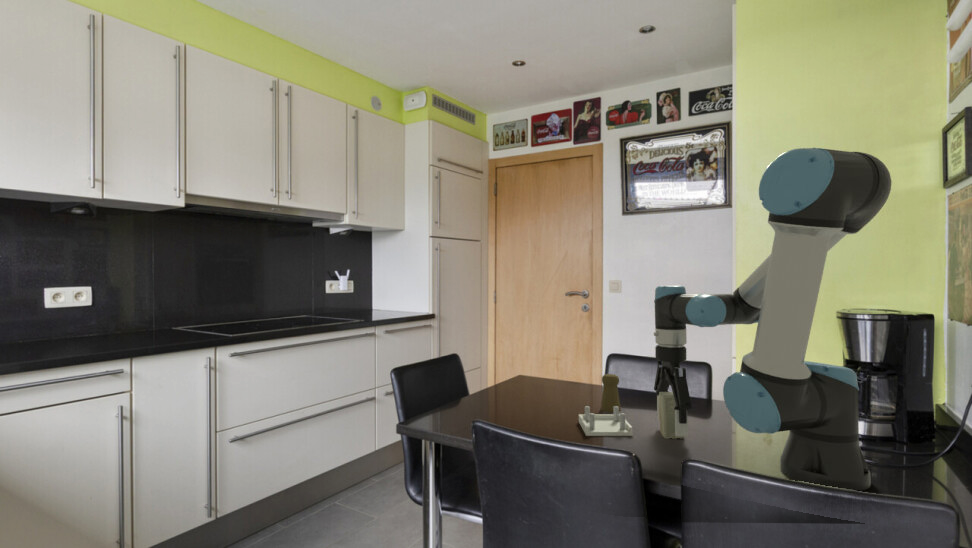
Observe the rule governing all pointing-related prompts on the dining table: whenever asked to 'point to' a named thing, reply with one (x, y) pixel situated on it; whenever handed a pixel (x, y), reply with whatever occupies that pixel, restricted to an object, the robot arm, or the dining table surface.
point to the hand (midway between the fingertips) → (671, 427)
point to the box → (667, 415)
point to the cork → (610, 393)
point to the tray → (605, 423)
